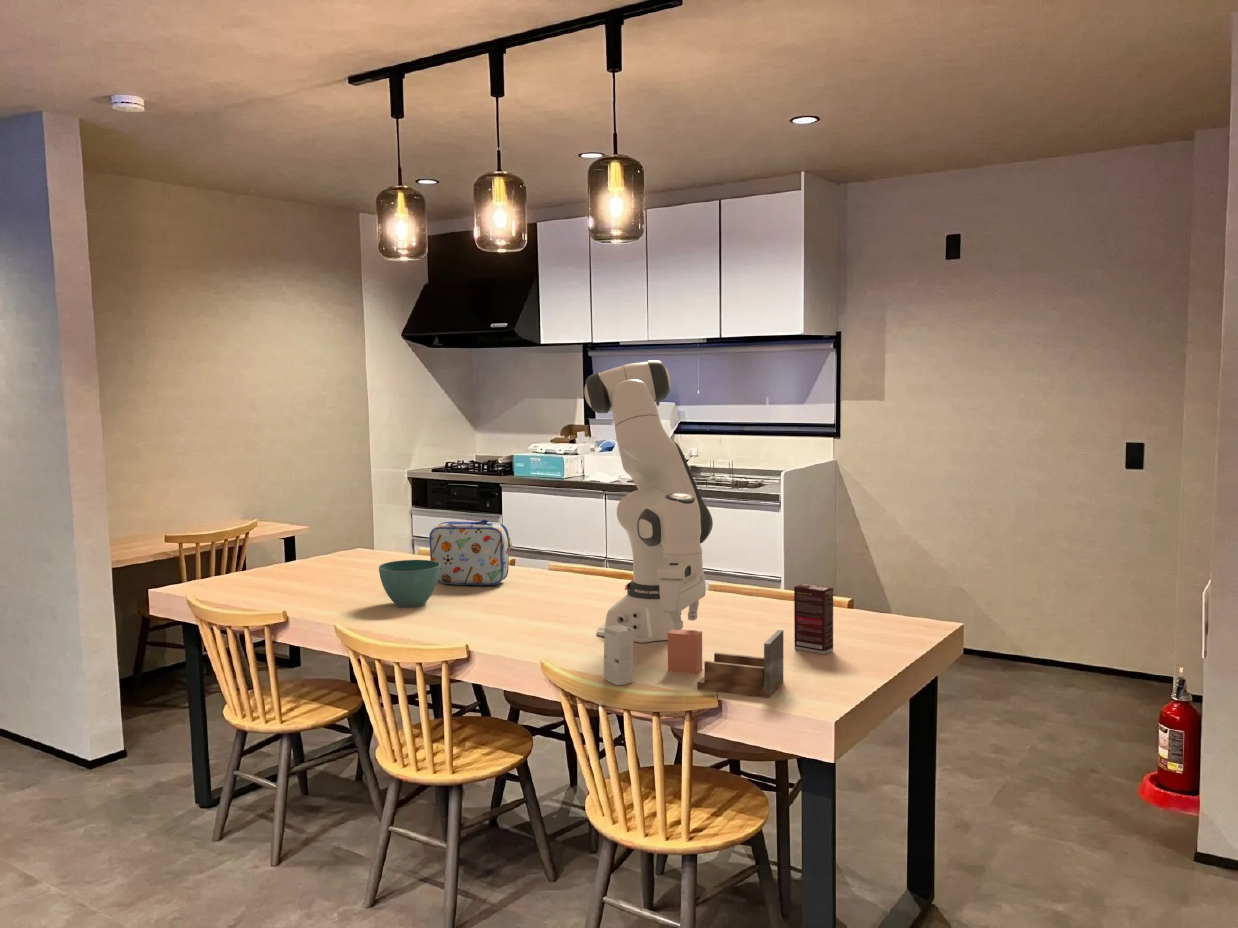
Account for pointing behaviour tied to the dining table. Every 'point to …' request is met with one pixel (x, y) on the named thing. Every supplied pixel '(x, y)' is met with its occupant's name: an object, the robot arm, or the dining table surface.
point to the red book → (685, 651)
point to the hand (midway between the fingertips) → (685, 624)
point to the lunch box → (470, 552)
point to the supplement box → (813, 618)
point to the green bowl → (409, 581)
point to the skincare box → (618, 654)
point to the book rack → (746, 671)
